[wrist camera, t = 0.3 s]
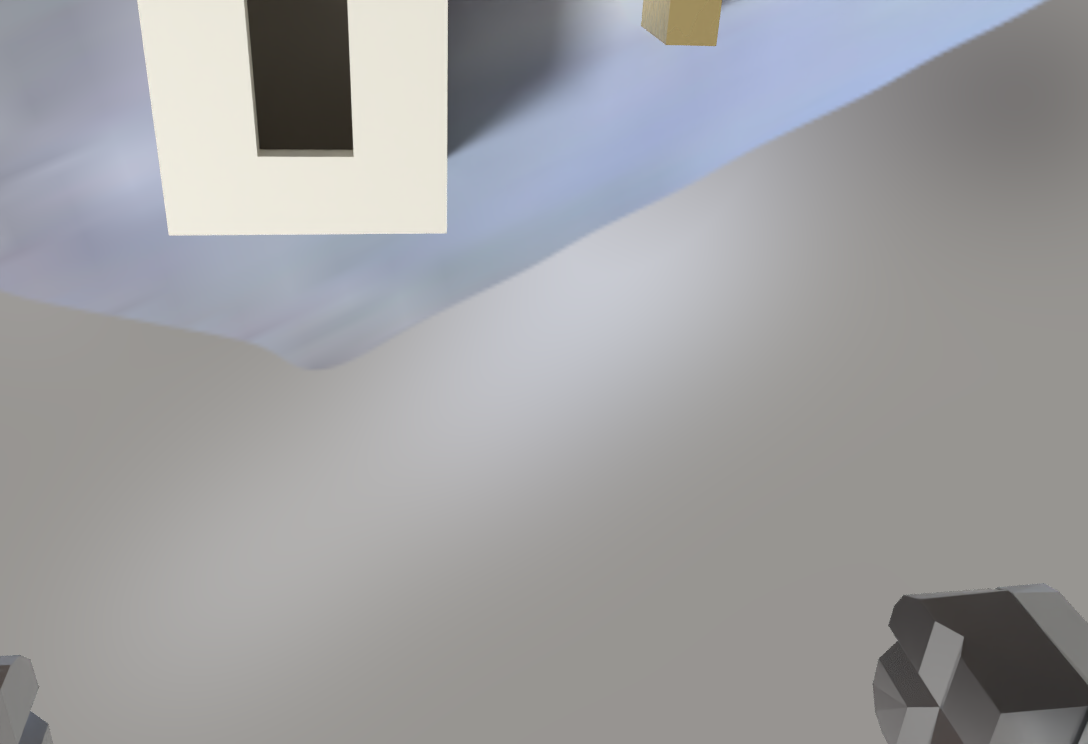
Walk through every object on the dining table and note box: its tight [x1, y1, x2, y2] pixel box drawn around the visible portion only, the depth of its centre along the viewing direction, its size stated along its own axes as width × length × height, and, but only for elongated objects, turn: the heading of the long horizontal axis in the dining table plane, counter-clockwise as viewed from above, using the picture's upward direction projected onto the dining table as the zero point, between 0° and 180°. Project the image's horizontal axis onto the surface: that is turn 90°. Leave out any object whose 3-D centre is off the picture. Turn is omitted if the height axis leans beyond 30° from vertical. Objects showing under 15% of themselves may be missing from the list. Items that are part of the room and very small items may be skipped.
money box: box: [137, 0, 448, 235], centre depth 46 cm, size 14×12×10 cm
